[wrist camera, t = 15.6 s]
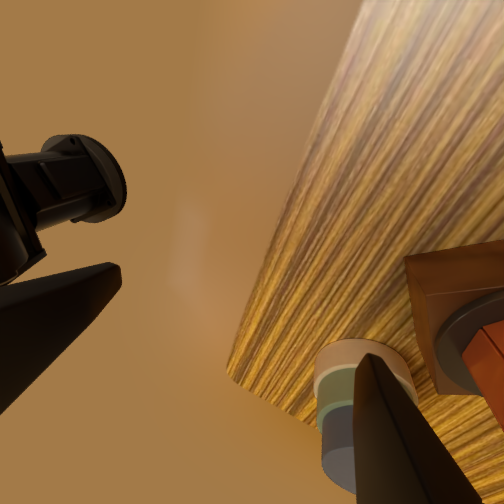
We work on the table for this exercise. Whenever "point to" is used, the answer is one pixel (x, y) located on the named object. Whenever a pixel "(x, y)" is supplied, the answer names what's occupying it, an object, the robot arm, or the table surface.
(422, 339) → the coaster stand
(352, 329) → the table surface
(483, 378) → the terracotta octagonal pot
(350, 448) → the disc stack
